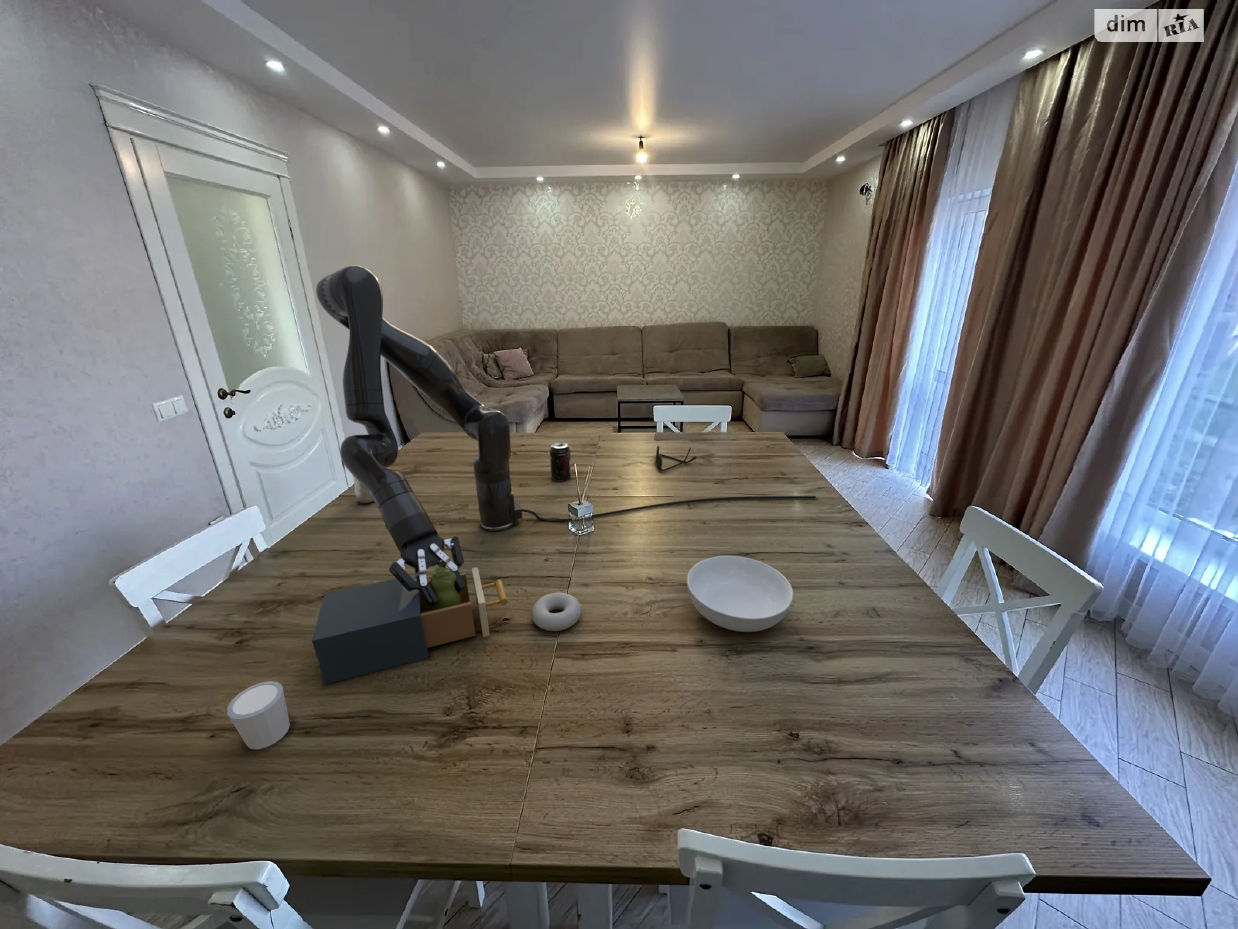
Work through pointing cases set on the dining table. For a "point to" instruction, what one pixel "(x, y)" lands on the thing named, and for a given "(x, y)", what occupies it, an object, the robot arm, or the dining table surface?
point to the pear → (444, 588)
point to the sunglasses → (659, 459)
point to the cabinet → (368, 630)
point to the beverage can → (560, 461)
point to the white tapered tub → (260, 714)
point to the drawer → (458, 614)
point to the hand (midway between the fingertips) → (448, 597)
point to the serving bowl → (739, 593)
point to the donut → (558, 619)
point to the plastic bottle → (362, 492)
